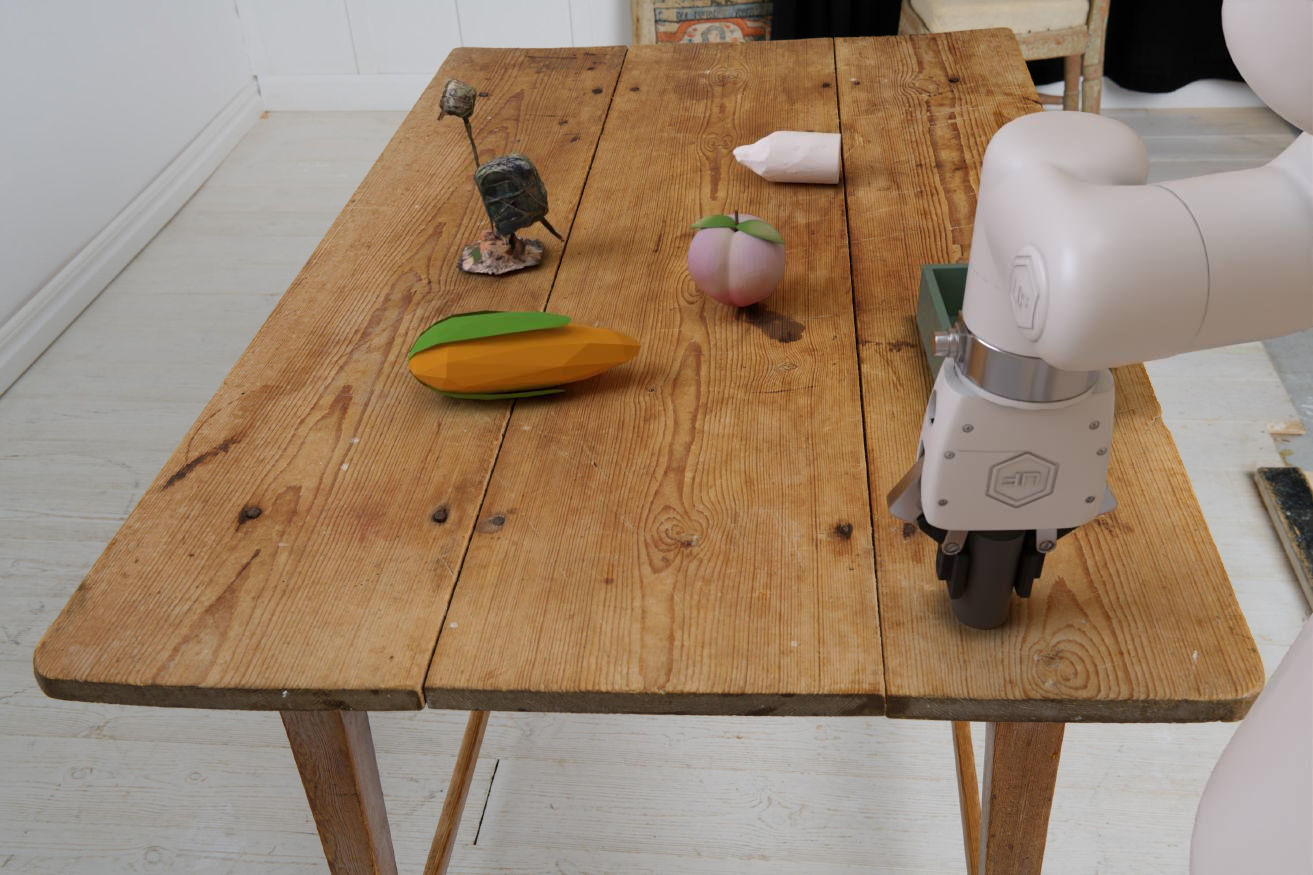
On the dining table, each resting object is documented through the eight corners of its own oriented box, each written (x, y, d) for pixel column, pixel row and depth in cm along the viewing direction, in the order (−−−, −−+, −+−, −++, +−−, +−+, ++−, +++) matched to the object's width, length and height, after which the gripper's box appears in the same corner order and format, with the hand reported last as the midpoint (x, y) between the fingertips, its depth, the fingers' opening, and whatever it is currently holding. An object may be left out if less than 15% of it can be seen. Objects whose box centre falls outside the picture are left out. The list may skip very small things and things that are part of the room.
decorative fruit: (795, 287, 104) (798, 192, 97) (777, 332, 98) (778, 235, 91) (702, 277, 106) (699, 184, 100) (679, 321, 100) (674, 225, 94)
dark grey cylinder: (1001, 588, 72) (1019, 500, 67) (1013, 629, 69) (1033, 540, 64) (947, 589, 72) (961, 501, 67) (957, 629, 69) (972, 542, 64)
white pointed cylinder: (737, 167, 125) (736, 121, 122) (840, 169, 123) (842, 123, 120) (730, 190, 121) (729, 143, 117) (837, 193, 119) (839, 145, 115)
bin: (1099, 420, 85) (1114, 360, 81) (946, 424, 86) (954, 365, 82) (1050, 315, 97) (1061, 259, 93) (915, 319, 98) (921, 264, 94)
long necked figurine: (548, 285, 107) (520, 90, 94) (446, 274, 110) (405, 84, 97) (575, 246, 113) (553, 58, 100) (478, 237, 116) (444, 53, 103)
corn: (404, 297, 91) (636, 279, 91) (423, 366, 97) (642, 349, 96) (392, 350, 86) (639, 332, 86) (413, 420, 91) (645, 403, 91)
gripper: (883, 394, 55) (862, 629, 67) (1213, 384, 54) (1134, 625, 65) (866, 316, 61) (849, 544, 72) (1163, 306, 60) (1098, 539, 71)
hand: (985, 580), depth 69 cm, fingers closed on dark grey cylinder, 3 cm apart
